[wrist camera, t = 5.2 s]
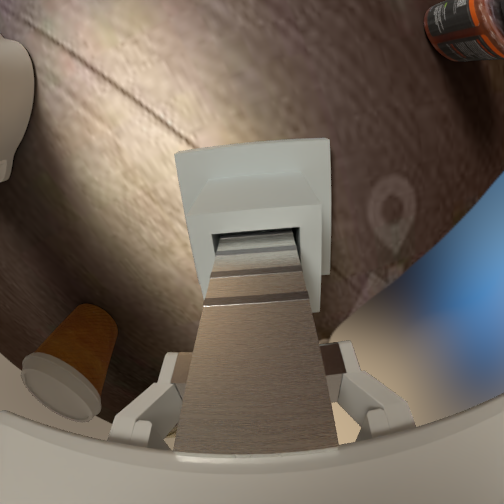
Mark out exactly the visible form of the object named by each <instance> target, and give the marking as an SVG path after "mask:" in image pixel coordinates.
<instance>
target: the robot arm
mask: <svg viewBox="0 0 504 504" xmlns="http://www.w3.org/2000/svg"><path fill="white" fill-rule="evenodd" d="M33 97H34V73H33V67H32V63H31V59H30V56H29V54H28V52H27V51H26V49H25V48H24V47H23V46H22V45H21V44H20V43H18V42H17V41H14V40H8V39H5V38H3V37H2V35H1V34H0V182H3V181H6V180H8V179H9V177H10V174H11V169H12V163H13V157H14V154H15V151H16V149H17V147H18V145H19V144H20V142H21V140H22V138H23V136H24V133H25V131H26V128H27V125H28V122H29V119H30V115H31V110H32V105H33ZM319 346H320V351H321V356H322V360H323V365H324V370H325V375H326V380H327V385H328V390H329V395H330V400H331V403H332V402H338V404H339V405H340V406H341V407H342V408H343V409H344V410H345V411H346V412H347V413H348V414H349V415H350V416H351V417H352V418H353V419H354V420H355V421H356V422H357V423H358V424H359V425H360V426H361V430H360V432H359V435H358V437H357V439H356V441H355V442H353V443H347V444H342V445H339V448H338V450H336V451H330V452H322V453H315V454H306V455H296V456H283V457H266V458H209V457H192V456H180V455H176V454H175V453H174V452H173V451H172V450H171V449H170V448H169V447H168V445H167V444H166V443H165V441H164V440H163V439H164V438H165V437H166V436H167V435H168V433H169V432H170V431H171V430H172V429H173V428H174V426H175V425H176V424H177V423H178V422H179V418H180V413H181V407H182V403H183V398H184V393H185V388H186V383H187V378H188V374H189V369H190V364H191V360H192V355H193V352H167V354H166V355H165V358H164V361H163V365H162V368H161V371H160V375H159V378H158V382H157V383H153V384H152V385H151V386H150V387H149V388H147V389H146V390H145V391H144V392H143V393H142V394H140V395H139V396H138V397H137V398H136V399H135V400H133V401H132V402H131V403H130V404H129V405H128V406H126V407H125V408H124V409H123V410H122V411H121V412H119V413H118V414H117V415H116V416H115V419H114V422H113V425H112V428H111V431H110V434H109V437H108V440H107V441H105V440H101V439H96V438H92V437H88V436H83V435H80V434H76V433H72V432H68V431H65V430H61V429H58V428H54V427H51V426H48V425H45V424H42V423H39V422H36V421H33V420H30V419H27V418H25V417H22V416H20V415H17V414H14V413H12V412H10V411H6V410H2V411H0V504H504V393H502V394H501V395H498V396H496V397H494V398H492V399H490V400H488V401H485V402H483V403H481V404H479V405H477V406H474V407H472V408H469V409H467V410H464V411H462V412H459V413H456V414H454V415H451V416H448V417H446V418H443V419H440V420H437V421H434V422H431V423H428V424H425V425H422V426H419V427H416V425H415V422H414V420H413V417H412V414H411V411H410V408H409V406H408V403H407V401H406V400H404V399H403V398H402V397H400V396H399V395H397V394H396V393H395V392H393V391H392V390H390V389H389V388H388V387H386V386H385V385H384V384H382V383H381V382H380V381H378V380H377V379H375V378H374V377H373V376H371V375H370V374H369V373H367V372H366V371H361V369H360V366H359V363H358V360H357V357H356V354H355V351H354V348H353V345H352V342H351V341H350V340H348V341H341V342H333V343H326V344H319Z"/></svg>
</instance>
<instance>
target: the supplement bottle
mask: <svg viewBox="0 0 504 504" xmlns="http://www.w3.org/2000/svg"><path fill="white" fill-rule="evenodd" d="M424 28H425V31H426V34H427V36H428V38H429V40H430V42H431V44H432V45H433V46H434V48H435V49H436V50H437V51H438V52H439V53H440V54H441V55H443V56H444V57H446V58H447V59H450V60H452V61H457V62H460V61H461V62H465V61H476V60H495V59H504V0H446V1H444V2H441V3H439V4H436V5H434V6H433V7H431V8H429V9H428V11H427V12H426V14H425V17H424Z"/></svg>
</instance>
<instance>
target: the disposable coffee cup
mask: <svg viewBox="0 0 504 504" xmlns="http://www.w3.org/2000/svg"><path fill="white" fill-rule="evenodd" d="M117 335H118V328H117V325H116V323H115V321H114V320H113V318H112V317H111V316H110V315H109V314H108V313H107V312H106V311H104V310H103V309H101V308H100V307H98V306H95V305H92V304H81V305H79V306H77V308H76V309H75V310H74V311H73V312H72V313H71V314H70V315H69V316H68V317H67V318H66V319H65V320H64V321H63V322H62V323H61V324H60V325H59V326H58V327H57V328H56V329H55V330H54V332H53V333H52V334H51V335H50V336H49V337H48V338H47V339H46V340H45V341H44V342H43V343H42V345H41V346H40V347H39V348H38V349H37V350H36V351H35V352H34V353H32V354H30V355H29V356H26V357H25V358H24V360H23V369H22V372H21V378H22V381H23V383H24V385H25V386H26V388H27V389H28V390H29V392H30V393H31V394H32V395H33V396H34V397H35V398H36V399H37V400H38V401H39V402H40V403H42V404H43V405H44V406H46V407H47V408H48V409H50V410H51V411H53V412H55V413H56V414H58V415H60V416H62V417H65V418H67V419H70V420H73V421H77V422H89V421H90V420H92V418H93V417H94V416H95V415H97V414H98V413H99V412H100V410H101V403H100V402H101V399H100V396H101V392H102V388H103V384H104V380H105V377H106V373H107V369H108V366H109V362H110V359H111V355H112V352H113V348H114V345H115V342H116V339H117Z"/></svg>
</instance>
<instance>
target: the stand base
mask: <svg viewBox="0 0 504 504" xmlns="http://www.w3.org/2000/svg"><path fill="white" fill-rule="evenodd" d="M174 156H175V162H176V168H177V174H178V180H179V185H180V191H181V197H182V202H183V208H184V213H185V218H186V223H187V228H188V233H189V238H190V243H191V248H192V253H193V258H194V262H195V267H196V272H197V276H198V281H199V285H201V289H202V293H203V298H204V299H205V298H206V294H207V289H208V285H209V281H210V275H211V272H212V269H213V265H214V261H215V255H216V251H217V249H218V245H219V241H220V235H221V233H231V232H242V231H254V230H266V229H279V228H291V229H292V231H293V237H294V241H295V245H296V247H297V252H298V256H299V260H300V264H301V266H302V270H303V277H304V281H305V285H306V289H307V291H308V295H309V302H310V306H311V310H312V313H314V312H320V295H321V275H330V255H331V162H330V140H329V139H327V138H307V139H288V140H273V141H260V142H249V143H239V144H230V145H221V146H213V147H205V148H198V149H191V150H185V151H179V152H177V153H176V154H174Z"/></svg>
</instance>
